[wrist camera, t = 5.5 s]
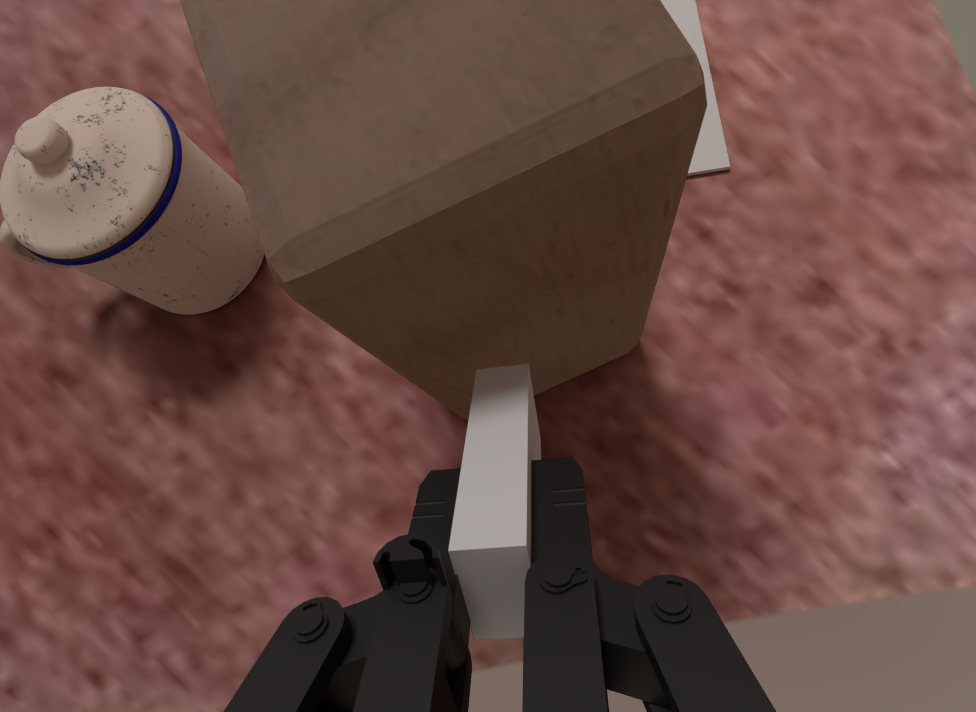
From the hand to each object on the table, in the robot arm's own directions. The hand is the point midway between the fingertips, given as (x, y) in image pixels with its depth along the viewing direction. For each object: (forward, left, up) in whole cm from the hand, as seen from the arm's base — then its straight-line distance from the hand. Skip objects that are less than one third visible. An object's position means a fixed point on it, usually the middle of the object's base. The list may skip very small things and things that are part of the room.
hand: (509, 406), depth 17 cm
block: (-1, +8, -13) cm, 15 cm away
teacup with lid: (-21, +14, -13) cm, 28 cm away
